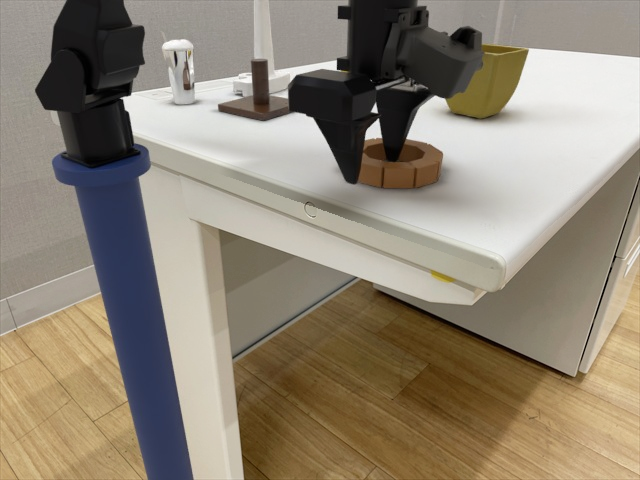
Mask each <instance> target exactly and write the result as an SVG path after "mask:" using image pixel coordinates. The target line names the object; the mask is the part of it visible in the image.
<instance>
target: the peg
mask: <svg viewBox="0 0 640 480" xmlns="http://www.w3.org/2000/svg"><path fill="white" fill-rule="evenodd" d="M250 73H252V89H253V95H252V96H248V97H244V96H243V97H241V98H237V99H233V100H228V101H225V102H220V103H218V104H217V110H218V112H221V113H227V114H231V115H235V116H240V117H243V118H248V119H254V120H257V121H263V122H264V121H268V120H270V119H274V118H278V117H280V116H284V115H287V114H290V113H293V112H292V111H289V109H288V97H283V96H277V95H270V94H269V75H268V60H267V59H254V58H252V59H250Z"/></svg>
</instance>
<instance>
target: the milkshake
mask: <svg viewBox="0 0 640 480" xmlns="http://www.w3.org/2000/svg"><path fill="white" fill-rule="evenodd" d="M160 33H161V36H162V38H163V41H164V43H162V46H161V51H162V55H163V60H164V64H165V67H166V70H167V76H168V80H169V83H170V84H169V86H170V90H171V95H172V100H173V103H174V104H175V105H178V106H179V105H181V106H182V105H192V104H194V103H196V90H195V89H196V88H195V87H196V86H195V54H194V52H195V51H194V49H195V46H194V44H193V43H192V42H191V41H190V40H188V39H185V38H181V39H171V40H169V41H168V39H167V37H166V34H165V32H164V31H160Z"/></svg>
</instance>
